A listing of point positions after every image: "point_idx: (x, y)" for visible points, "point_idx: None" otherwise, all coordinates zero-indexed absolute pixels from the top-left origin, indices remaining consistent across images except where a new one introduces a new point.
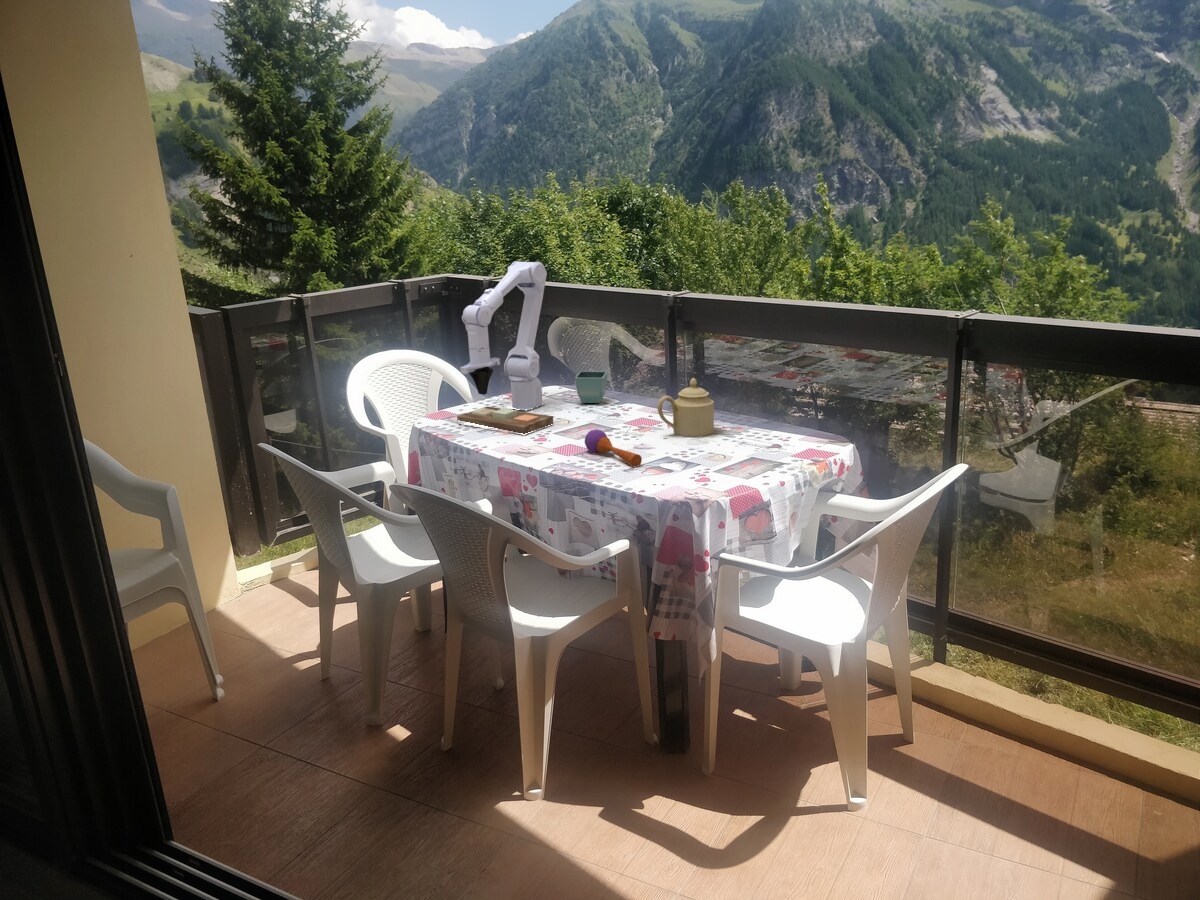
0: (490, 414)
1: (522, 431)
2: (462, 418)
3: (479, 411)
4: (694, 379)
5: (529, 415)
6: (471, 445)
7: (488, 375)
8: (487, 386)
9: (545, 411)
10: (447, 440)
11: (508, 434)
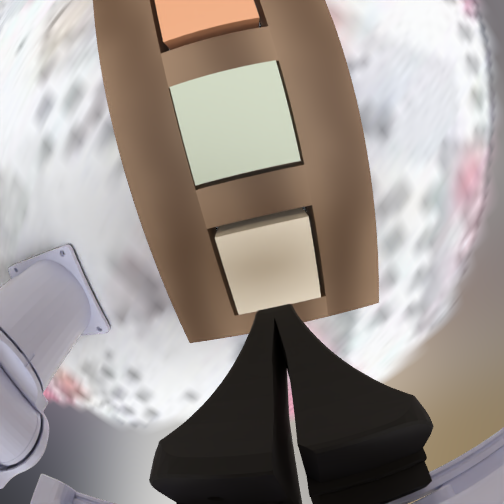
0: (266, 214)
1: None
2: (376, 272)
3: (291, 278)
4: None
5: (161, 15)
6: (470, 40)
7: (252, 414)
8: (253, 339)
9: (26, 198)
10: (490, 145)
11: None
